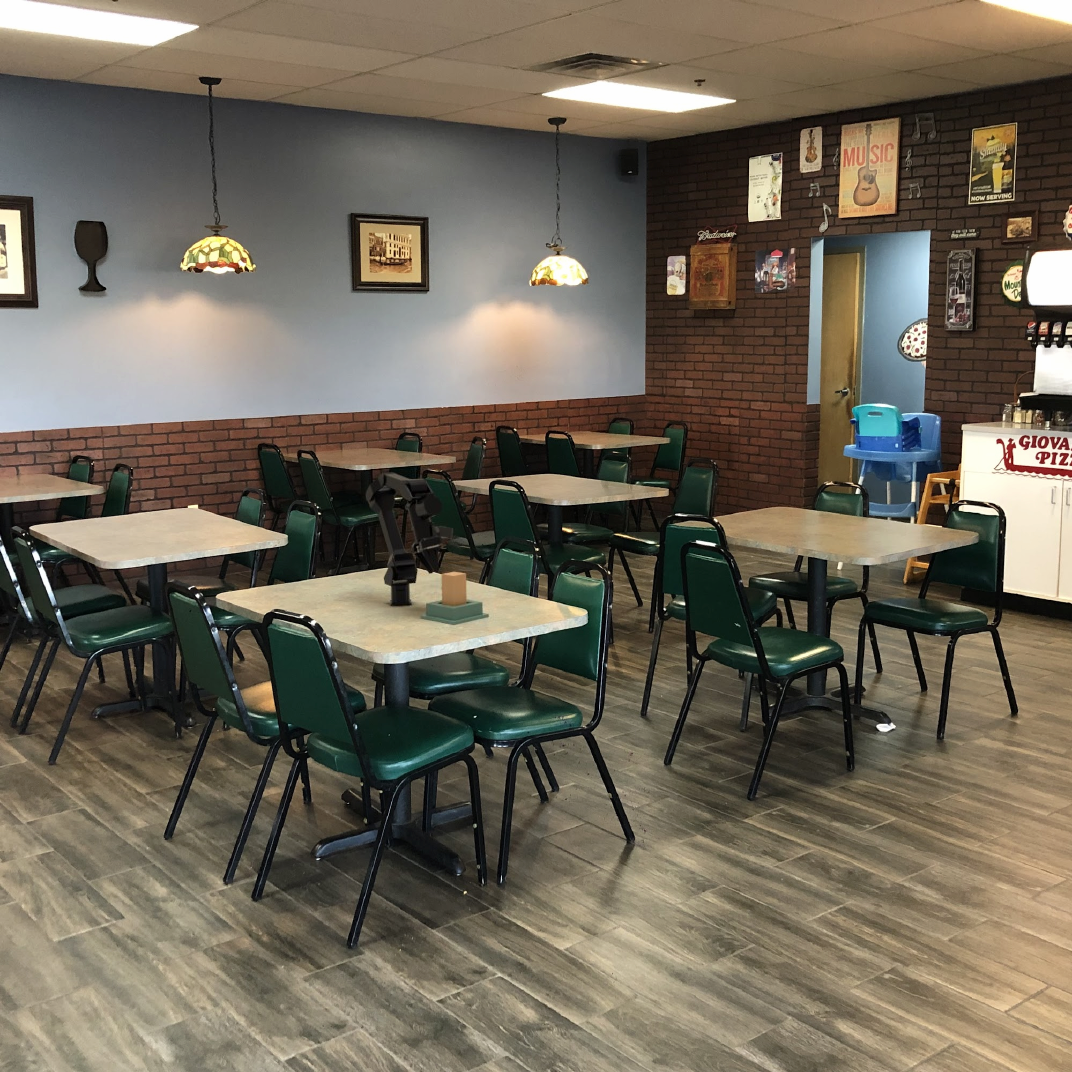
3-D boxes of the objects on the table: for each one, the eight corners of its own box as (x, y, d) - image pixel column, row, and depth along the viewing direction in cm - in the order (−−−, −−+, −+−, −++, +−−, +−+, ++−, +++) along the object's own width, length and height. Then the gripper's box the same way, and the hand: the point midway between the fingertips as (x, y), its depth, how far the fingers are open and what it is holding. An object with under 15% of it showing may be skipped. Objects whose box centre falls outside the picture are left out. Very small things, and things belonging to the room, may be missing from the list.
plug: (442, 614, 350) (441, 574, 349) (454, 612, 354) (454, 571, 352) (454, 617, 347) (453, 576, 345) (466, 614, 351) (466, 573, 349)
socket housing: (420, 618, 350) (419, 603, 350) (455, 610, 360) (455, 596, 360) (453, 624, 341) (453, 609, 340) (488, 616, 351) (488, 602, 350)
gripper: (452, 511, 349) (466, 563, 349) (441, 518, 367) (454, 567, 367) (415, 520, 346) (428, 573, 346) (405, 526, 364) (418, 576, 364)
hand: (433, 572), depth 356 cm, fingers open, 9 cm apart
